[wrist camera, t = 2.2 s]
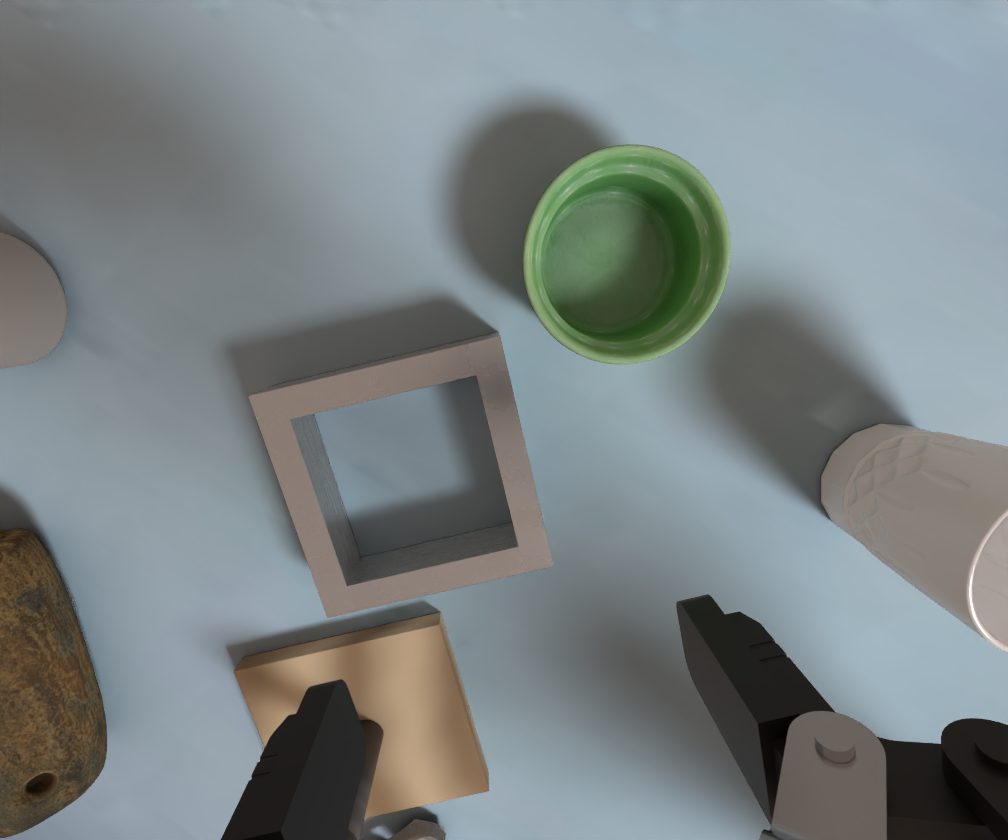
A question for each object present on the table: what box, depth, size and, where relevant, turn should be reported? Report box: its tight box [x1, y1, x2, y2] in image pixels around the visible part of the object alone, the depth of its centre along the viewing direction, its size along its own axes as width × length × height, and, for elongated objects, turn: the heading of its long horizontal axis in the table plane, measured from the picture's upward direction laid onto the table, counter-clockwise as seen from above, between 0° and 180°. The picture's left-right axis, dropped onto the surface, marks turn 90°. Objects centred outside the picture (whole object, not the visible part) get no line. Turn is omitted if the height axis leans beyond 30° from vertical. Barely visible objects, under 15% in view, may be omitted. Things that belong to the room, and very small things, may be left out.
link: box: [248, 332, 553, 618], centre depth 27 cm, size 12×12×3 cm
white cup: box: [821, 424, 1008, 653], centre depth 25 cm, size 8×8×10 cm
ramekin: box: [522, 145, 731, 364], centre depth 24 cm, size 9×9×4 cm
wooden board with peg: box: [234, 612, 489, 840], centre depth 27 cm, size 12×12×9 cm
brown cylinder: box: [0, 529, 107, 838], centre depth 27 cm, size 15×7×7 cm, turn 11°
